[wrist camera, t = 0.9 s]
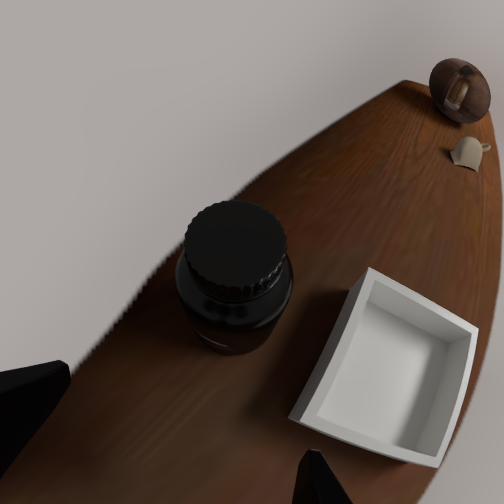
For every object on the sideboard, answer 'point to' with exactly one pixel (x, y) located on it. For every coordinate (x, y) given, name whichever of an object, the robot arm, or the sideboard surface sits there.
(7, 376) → the robot arm
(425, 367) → the tray
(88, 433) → the sideboard surface
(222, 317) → the supplement bottle
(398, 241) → the sideboard surface
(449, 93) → the dark glossy egg
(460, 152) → the beige rounded piece
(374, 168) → the sideboard surface
